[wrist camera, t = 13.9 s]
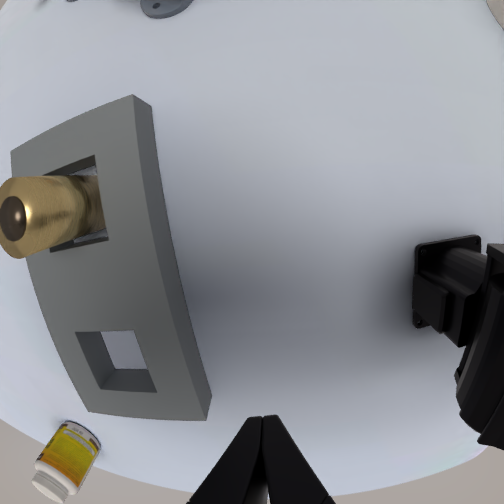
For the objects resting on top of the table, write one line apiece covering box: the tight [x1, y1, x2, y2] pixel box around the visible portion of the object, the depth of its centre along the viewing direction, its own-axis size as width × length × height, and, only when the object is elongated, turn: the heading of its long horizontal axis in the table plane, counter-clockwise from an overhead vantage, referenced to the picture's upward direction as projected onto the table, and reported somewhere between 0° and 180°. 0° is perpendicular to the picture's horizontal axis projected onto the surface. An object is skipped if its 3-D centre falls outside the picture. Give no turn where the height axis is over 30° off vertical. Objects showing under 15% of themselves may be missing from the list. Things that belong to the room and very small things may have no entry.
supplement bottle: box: [32, 422, 100, 504], centre depth 19 cm, size 6×6×10 cm
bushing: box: [0, 175, 106, 259], centre depth 14 cm, size 4×4×8 cm
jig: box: [11, 94, 212, 421], centre depth 18 cm, size 11×22×3 cm, turn 9°
